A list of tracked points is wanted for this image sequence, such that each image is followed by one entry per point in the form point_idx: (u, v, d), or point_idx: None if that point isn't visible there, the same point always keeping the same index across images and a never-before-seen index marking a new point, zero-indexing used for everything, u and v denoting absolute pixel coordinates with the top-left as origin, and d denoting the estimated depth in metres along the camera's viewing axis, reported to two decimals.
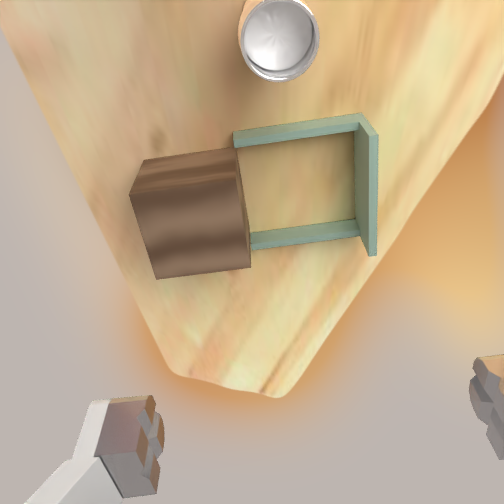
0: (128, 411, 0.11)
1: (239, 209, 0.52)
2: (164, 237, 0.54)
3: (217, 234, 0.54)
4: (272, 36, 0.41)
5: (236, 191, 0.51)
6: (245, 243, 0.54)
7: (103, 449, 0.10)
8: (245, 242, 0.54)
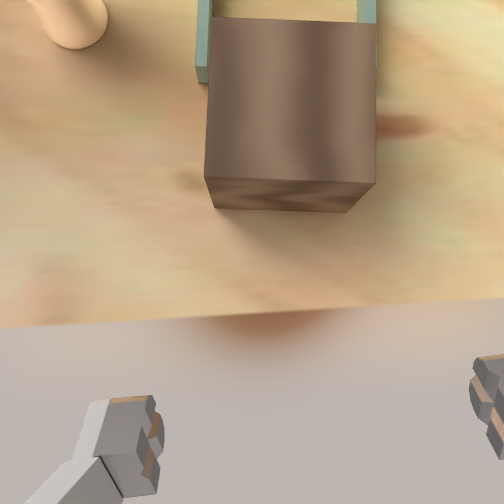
0: (128, 411, 0.11)
1: (263, 20, 0.33)
2: (291, 145, 0.32)
3: (302, 62, 0.33)
4: None
5: (231, 19, 0.33)
6: (326, 23, 0.33)
7: (103, 449, 0.10)
8: (325, 23, 0.33)
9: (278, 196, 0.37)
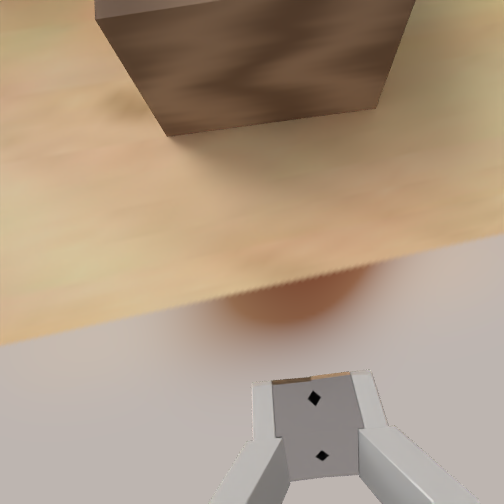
0: (296, 392, 0.11)
1: None
2: None
3: None
4: None
5: None
6: None
7: (284, 430, 0.10)
8: None
9: (255, 74, 0.21)
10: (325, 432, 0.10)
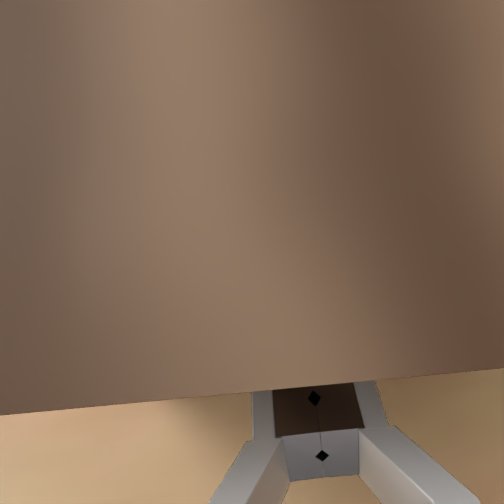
0: (296, 392, 0.11)
1: None
2: (303, 219, 0.07)
3: None
4: None
5: None
6: None
7: (283, 430, 0.10)
8: None
9: None
10: (325, 432, 0.10)
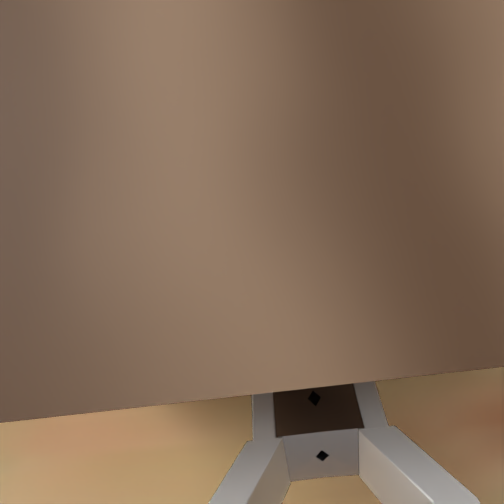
0: (296, 392, 0.11)
1: None
2: (296, 222, 0.07)
3: None
4: None
5: None
6: None
7: (284, 430, 0.10)
8: None
9: None
10: (325, 432, 0.10)
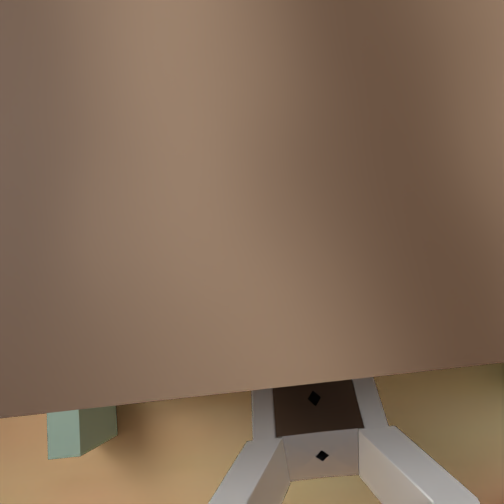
0: (296, 392, 0.11)
1: None
2: (295, 222, 0.07)
3: None
4: None
5: None
6: None
7: (284, 430, 0.10)
8: None
9: None
10: (325, 432, 0.10)
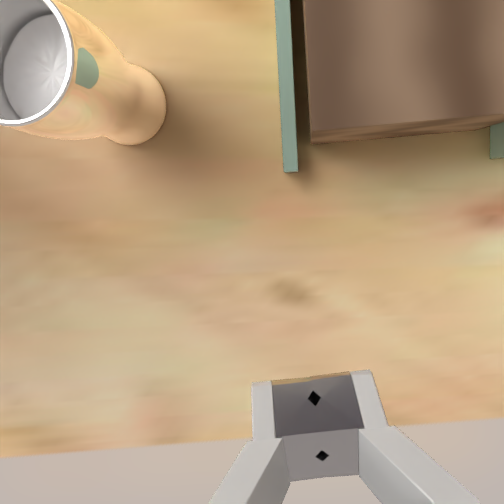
0: (296, 392, 0.11)
1: None
2: (424, 71, 0.24)
3: None
4: (56, 80, 0.25)
5: None
6: None
7: (284, 430, 0.10)
8: None
9: (398, 130, 0.29)
10: (325, 432, 0.10)
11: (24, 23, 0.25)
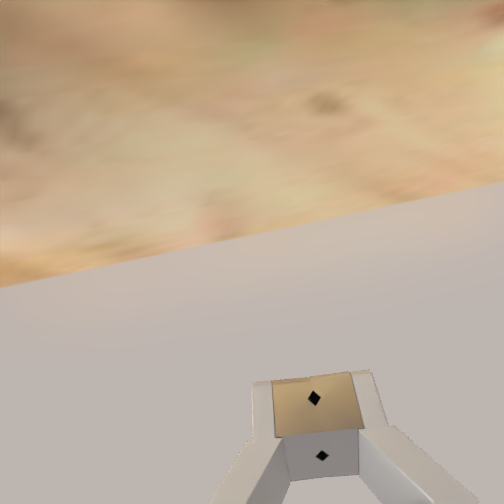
0: (296, 392, 0.11)
1: None
2: None
3: None
4: None
5: None
6: None
7: (284, 430, 0.10)
8: None
9: None
10: (325, 432, 0.10)
11: None
